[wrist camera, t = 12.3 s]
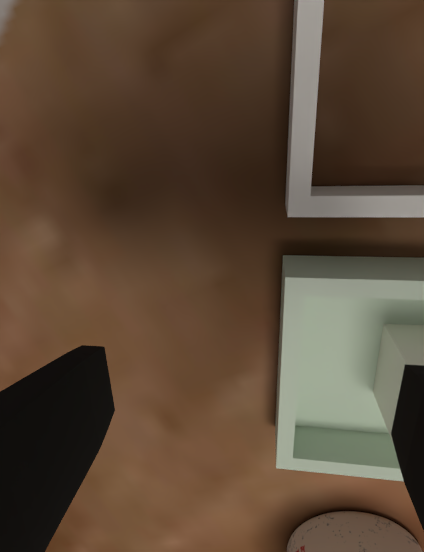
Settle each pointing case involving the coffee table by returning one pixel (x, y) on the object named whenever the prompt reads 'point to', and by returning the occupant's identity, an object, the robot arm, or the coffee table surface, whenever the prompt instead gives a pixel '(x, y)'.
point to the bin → (302, 132)
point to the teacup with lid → (351, 534)
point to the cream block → (396, 365)
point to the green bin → (339, 360)
